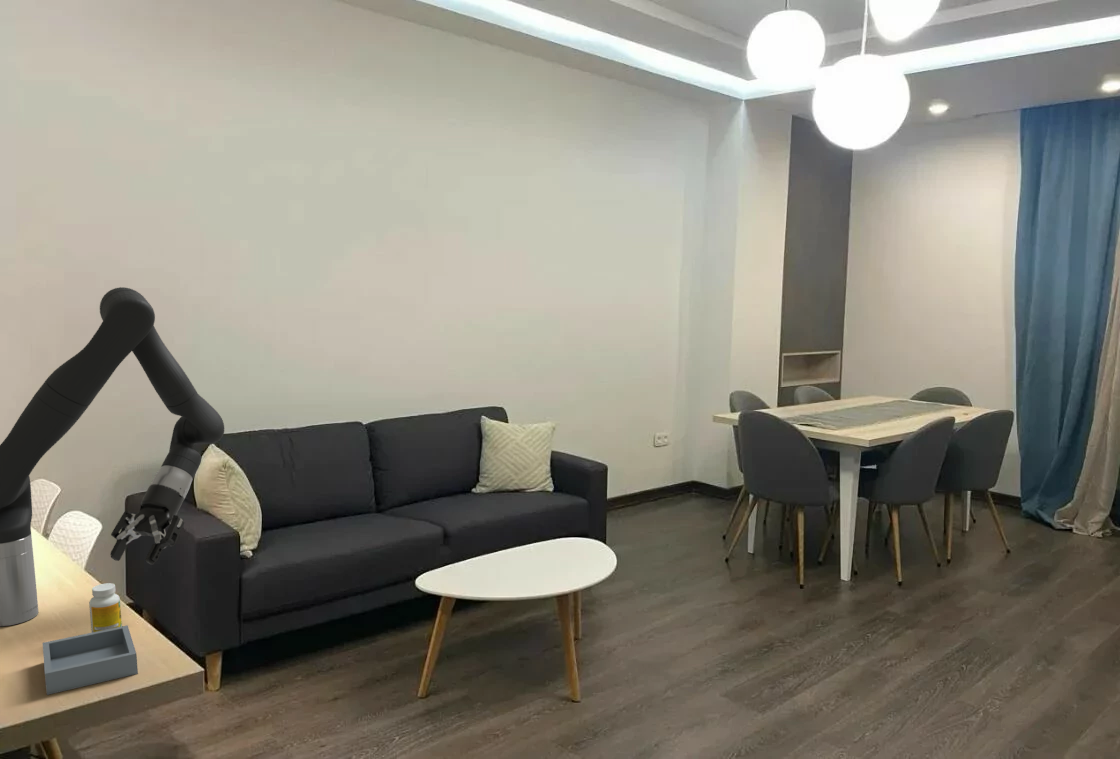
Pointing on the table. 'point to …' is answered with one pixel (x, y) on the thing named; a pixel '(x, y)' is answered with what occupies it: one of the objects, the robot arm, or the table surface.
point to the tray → (89, 659)
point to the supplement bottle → (105, 608)
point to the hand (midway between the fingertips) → (131, 561)
